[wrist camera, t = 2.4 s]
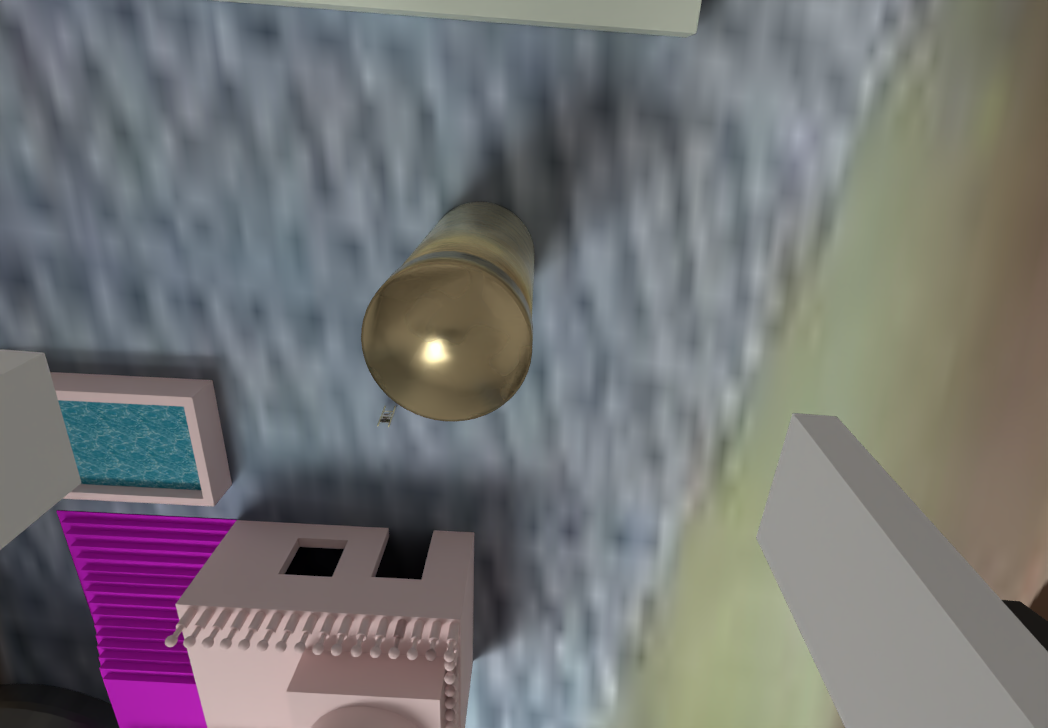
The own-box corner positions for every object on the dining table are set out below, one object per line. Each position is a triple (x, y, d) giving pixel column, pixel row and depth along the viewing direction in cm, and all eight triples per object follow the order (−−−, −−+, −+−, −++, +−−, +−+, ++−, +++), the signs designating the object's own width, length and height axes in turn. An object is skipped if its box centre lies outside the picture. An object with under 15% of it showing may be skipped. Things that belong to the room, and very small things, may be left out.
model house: (476, 389, 28) (440, 548, 18) (473, 655, 35) (446, 875, 25) (-55, 362, 28) (-380, 505, 18) (48, 633, 35) (-145, 841, 25)
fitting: (427, 303, 26) (364, 415, 17) (427, 196, 24) (357, 255, 15) (531, 311, 26) (525, 427, 17) (539, 204, 24) (538, 269, 15)
